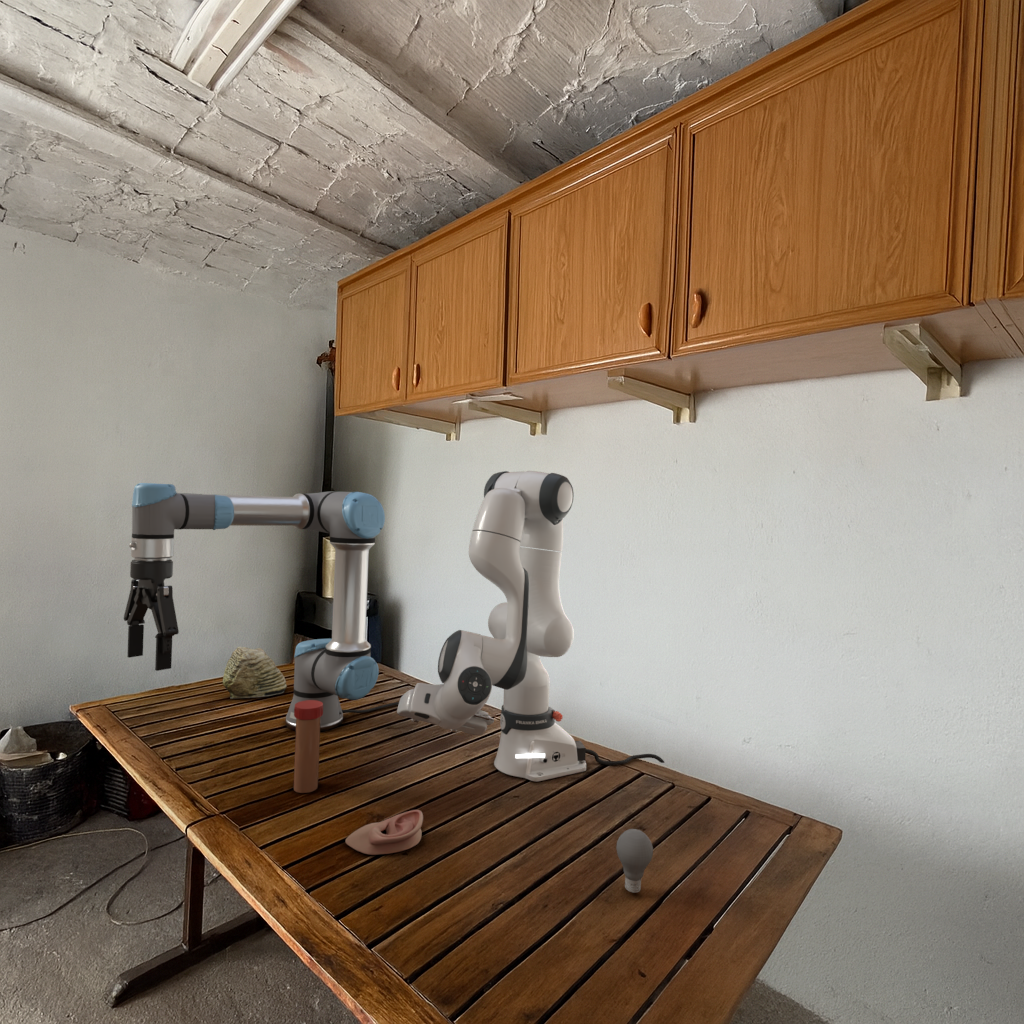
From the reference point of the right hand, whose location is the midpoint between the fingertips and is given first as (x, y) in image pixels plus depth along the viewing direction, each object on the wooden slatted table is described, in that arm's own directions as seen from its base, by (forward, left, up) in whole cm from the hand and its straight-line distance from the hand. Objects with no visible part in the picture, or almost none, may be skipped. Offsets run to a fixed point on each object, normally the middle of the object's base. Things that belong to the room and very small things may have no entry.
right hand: (434, 723), depth 146 cm
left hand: (+59, -3, +16) cm, 62 cm away
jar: (+28, 0, -12) cm, 30 cm away
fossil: (+42, -69, -12) cm, 82 cm away
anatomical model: (+14, +25, -12) cm, 31 cm away
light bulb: (-23, +51, -12) cm, 57 cm away
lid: (+28, 0, +6) cm, 29 cm away
